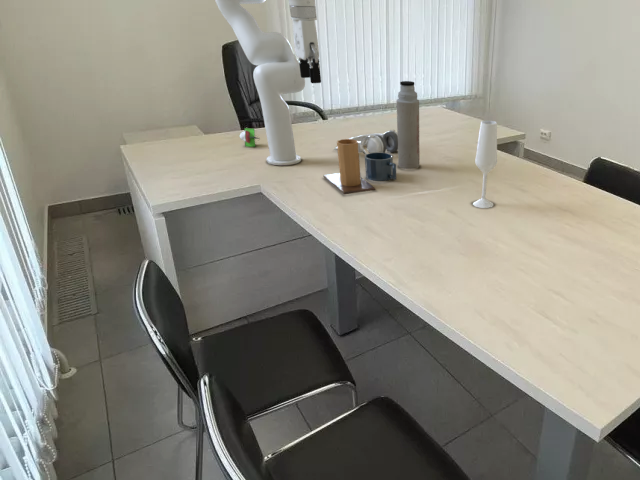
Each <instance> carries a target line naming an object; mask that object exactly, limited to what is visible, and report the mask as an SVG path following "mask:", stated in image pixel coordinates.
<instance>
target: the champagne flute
mask: <svg viewBox="0 0 640 480" xmlns="http://www.w3.org/2000/svg"><path fill="white" fill-rule="evenodd" d="M478 132H479V133H478V140H477V147H476V153H475V160H474V163H475V166H476V167H477V168H478V170H479V171H480V172H481V173H482V189H481V198H479V199H478V200H475V201H474V202H473V203H472V205H473V206H474V207H476V208H480V209H489V208H493V207H494V203H493V202H492V201H490V200H488V199H487V198H486V196H487V195H486V194H487V183H488V173H490V172H491V171H492V170H493V169H495V168H496V166H497V164H498V122H497V121H495V120H481V121H480V126H479V131H478Z"/></svg>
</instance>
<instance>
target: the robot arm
mask: <svg viewBox="0 0 640 480" xmlns="http://www.w3.org/2000/svg"><path fill="white" fill-rule="evenodd" d="M214 1H215V4H216V6H217V8H218V10H219V12H220V14H221V15H222V17H223V18H224V19H225V20H226V22H227V23H228V24H229V26H230V28H231V29H232V31H233V33H234V34H235V35H234V36H235V37H236V39H237V41H238V43H239V45H240V47H241V48H242V51H243V53H244V55H245V57H246V59H247V60H248V61H249V63H250V64H251V65H254V66H256V67H255V68H254V69H253V74H252V76H253V77H252V78H253V82H254V85H255V88H256V91H257V94H258V98H259V101H260V106H261V110H262V112H261V113H262V116H263V117H262V118H263V123H264V128H265V134H266V140H267V146H268V151H269V155H268V156H267V157H266V162H267V164H269V165H273V166H291V165H296V164H299V163H300V162H301V161H302V157H301V155H299V154H297V150H296V143H295V136H294V130H293V123H292V117H291V116H292V115H291V110H290V107H289V105H288V103H287V102H286V100H284V99H283V97H282V95H287V94H296V93H300V92H302V91H303V90H304V89H305V87H306V79H307V78H309V79H310V83H311V84H321V83H322V77H321V65H320V48H319V39H318V32H317V26H316V21H317V20H318V15H317V6H316V0H288V5H289V15H290V19H291V20H292V33H293V35H292V36H293V48H294V50H293V48H292V45H291V43H290V42H289V39H288V38H287V37H286V36H285V35H284V34H283V33H281V32H277V31H263V30H262V29H261V28H260V26H259V24H258V22H257V20H256V18H255V17H254V16H253V15H252V13H250V11H248V10H247V9H246V8H244V6H241V5H244V4H246V5H247V4H251V5H252V4H253V5H254V4H263V3H265V1H266V0H214Z"/></svg>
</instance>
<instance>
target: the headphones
mask: <svg viewBox="0 0 640 480" xmlns="http://www.w3.org/2000/svg"><path fill="white" fill-rule="evenodd" d="M348 139H353V140H357V141H358V150H359V154H360V153H363V154H364V156H365V155H366V154H369V153H375V152H383V153H386V151H387V152H388V153H394V152H398V135H397V131H396V130H395V129H390V130H388V131H385V132H384V133H383V132H377V133H375V132H374V133H366V134H361V135H356V136H352V137H349V138H348ZM364 146H366V150H365V148H364ZM333 151H338V150H337V145H336V146H335V147H334V148H333ZM366 151H367V152H366Z"/></svg>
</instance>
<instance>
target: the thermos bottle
mask: <svg viewBox="0 0 640 480" xmlns="http://www.w3.org/2000/svg"><path fill="white" fill-rule="evenodd" d="M399 84H400V91H398V92H397V93H398V94H397V99H396V128H397V129H396V130H397V131H396V132H397V135H398V151H397V159H398V160H397V164H398V168H401V169H404V170H405V169H406V170H413V169H418V168H419V167H420V166H421V165H420V162H421V161H420V100H419V99H418V92H417V91H416V90H415V82H414V81H411V80H402V81H400V82H399Z"/></svg>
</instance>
